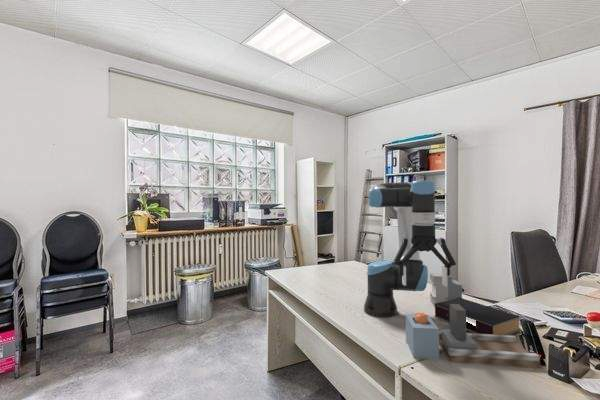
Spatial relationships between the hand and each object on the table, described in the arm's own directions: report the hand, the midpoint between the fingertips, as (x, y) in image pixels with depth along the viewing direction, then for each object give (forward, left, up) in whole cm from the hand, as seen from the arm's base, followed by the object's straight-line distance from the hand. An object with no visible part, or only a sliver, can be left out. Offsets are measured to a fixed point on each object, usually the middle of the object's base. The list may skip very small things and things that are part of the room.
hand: (424, 285), depth 100 cm
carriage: (+11, 0, -20) cm, 23 cm away
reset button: (-1, 0, -15) cm, 15 cm away
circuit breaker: (+23, +47, -23) cm, 57 cm away
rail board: (+19, 0, -23) cm, 29 cm away
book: (+26, +24, -23) cm, 42 cm away
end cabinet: (-1, 0, -23) cm, 23 cm away
